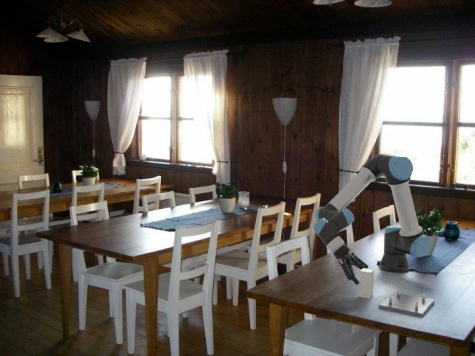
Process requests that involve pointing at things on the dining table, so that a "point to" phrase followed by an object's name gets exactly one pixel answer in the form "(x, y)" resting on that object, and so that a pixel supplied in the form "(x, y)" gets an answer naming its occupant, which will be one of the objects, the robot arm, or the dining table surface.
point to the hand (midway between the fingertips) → (369, 285)
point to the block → (366, 282)
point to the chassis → (407, 304)
